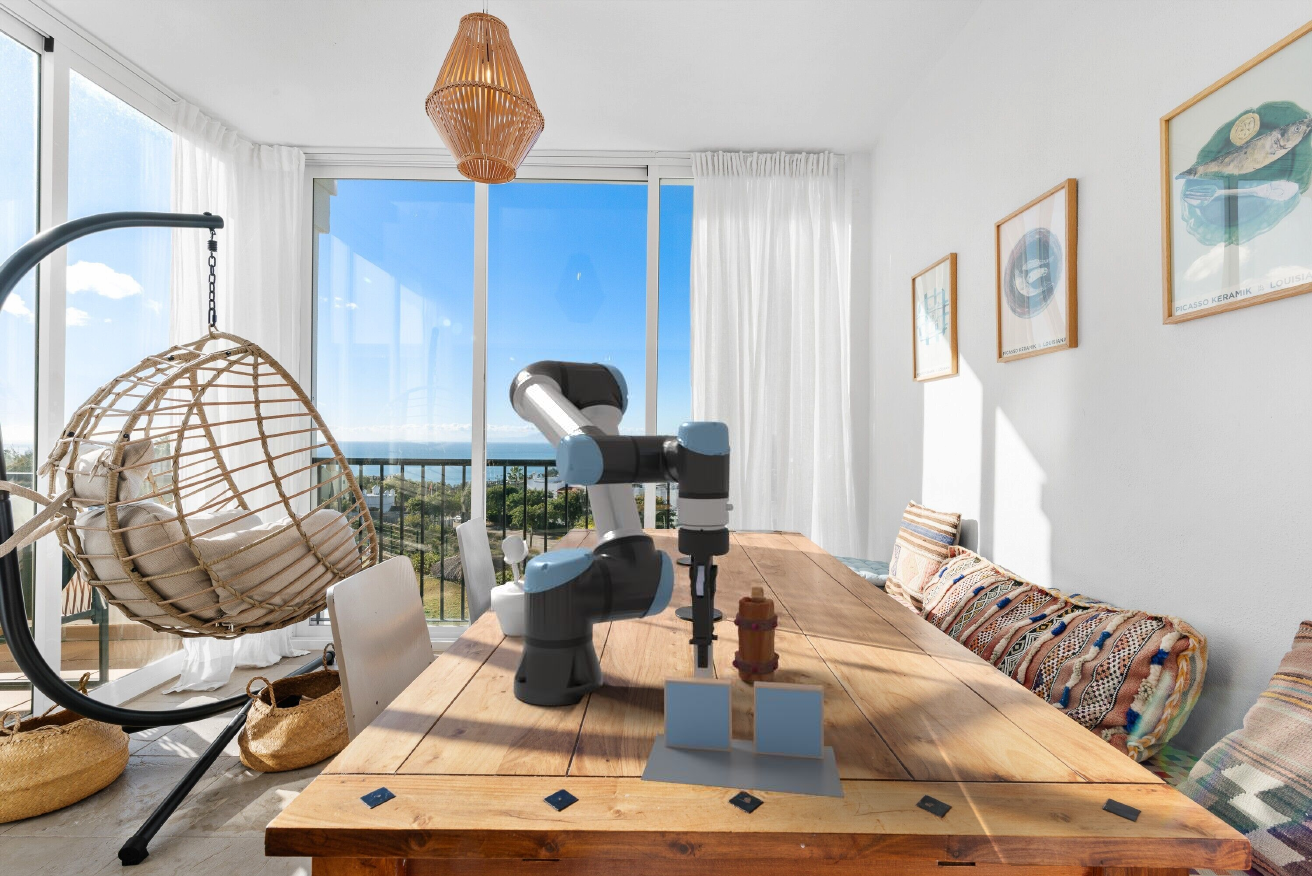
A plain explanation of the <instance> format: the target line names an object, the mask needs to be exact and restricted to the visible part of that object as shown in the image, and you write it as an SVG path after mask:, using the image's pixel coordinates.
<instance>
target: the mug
mask: <svg viewBox="0 0 1312 876" xmlns="http://www.w3.org/2000/svg"><path fill="white" fill-rule="evenodd" d="M750 593H751V595H750V596H743V597H742V598H741V599H738V600H739V601H738V611H737V613H736V615H735V619H734V620H733V624H734V625H735V626H736V627H737V636H738V638H737V639H738V650H736V651H735V652H734V660H732V662H731V663H732V667H733V668H736V669H737V670H738V671H737V674H738V675H737V676H738V677H739V678H740V680H742V681H744V682H748V683H753V684H754V681H759V682H771V681H772V680H773V679H774V677H775V671H777V670H778V668H779V660H780V654H779V653H777V652H776V651H775V639H776V638H775V636H776V635H775V634H776V630H775V629H776V628H778V618H779V616H778V615H777V614H776V613H775V601H774V600H773V599H771V598H766V597H765V596H764V595H765V593H764V588H763V587H762V586H752V587H751V592H750Z"/></svg>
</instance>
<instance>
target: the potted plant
mask: <svg viewBox="0 0 1312 876" xmlns="http://www.w3.org/2000/svg"><path fill="white" fill-rule="evenodd" d="M530 534H531V536H532V534H533V528H532V527H531V529H530ZM537 542H538V543H537V544H538V545H537V546H538V547H539V545H540V543H539V539H538V541H537ZM500 548H501V550H502V552H503V554H504V558H503V561H504V562H505V563H506V564H507V565H511V570H512V574H513V581H506V583H505V584H503V585H498V586H495V587H492V589H491V590H490V609H491V610H492V611H494V612H495V615H496V618H497V620H498V624H499V627H500V629H501V632H502V633H503V634H504V635H506V636H508V637H524V590H523V586H524V581H525V580H520V571H519V566H518V563H521V562H522V561H524V559H526V557H527V556H528V555H529V553H530V551H529V548H528V545H527V539H525V540H523V539H522V537H521V536H520V535H519V534H513V535H508V536H507V537H506V538H504V539H503V540H502V542H501V547H500Z"/></svg>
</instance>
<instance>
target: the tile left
mask: <svg viewBox="0 0 1312 876" xmlns="http://www.w3.org/2000/svg"><path fill="white" fill-rule="evenodd" d="M663 681H664V685H663V687H664V688H663V689H664V690H663V691H664V695H663V698H664V700H663V703H664V704H663V707H664V709H663V710H664V711H663V712H664V713H663V715H664V716H663V719H664V720H663V722H664V724H663V725H664V726H663V727H664V729H663V732H664V733H663V734H664V746H666V747H679V748H692V749H705V750H717V751H730V752H731V747H732V739H733V738H732V737H733V736H732V733H733V731H732V730H733V728H732V727H733V723H732V722H733V719H732V716H733V713H732V708H733V704H732V702H733V700H732V699H733V698H732V696H733V695H732V692H733V691H732V690H733V689H732V688H733V687H732V685H733V683H732V682H733V679H725V678H713V679H709V678H694V676H691V677H690V676H675V675H674V676H673V675H672V676H671V675H665V678H664V680H663Z"/></svg>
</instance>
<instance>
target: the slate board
mask: <svg viewBox="0 0 1312 876" xmlns="http://www.w3.org/2000/svg"><path fill="white" fill-rule="evenodd" d="M834 751H835V750H834V747H833V746H829V745H827V746H826V745H824V759H820V758H807V757H794V756H781V755H769V754H756V753H754V740H750V739H749V740H748V739H735V738H732V747H731V752H730V751H717V750H705V749H692V748H679V747H666V746H664V733H657V735H656V737H655V740H654V743H653V745H652V748H651V751H650V753H649V756H648V759H647V761H646V764H645V767H644V769H643V772H642V775H641V776H640V781H648V782H659V783H672V784H680V785H681V784H683V785H696V786H705V787H707V786H708V787H718V788H726V789H727V788H728V789H740V790H752V791H753V790H754V791H760V792H761V791H763V792H775V793H786V794H799V795H810V796H820V797H831V798H832V797H834V798H843V799H844V793H843V786H842V784H841V779H840V775H839V771H838V765H837V759H836V755H835V752H834Z"/></svg>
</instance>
